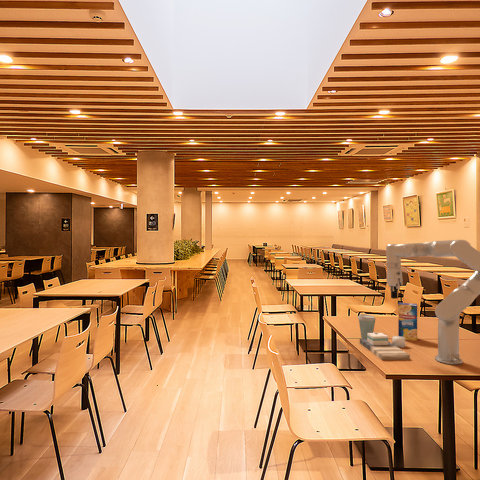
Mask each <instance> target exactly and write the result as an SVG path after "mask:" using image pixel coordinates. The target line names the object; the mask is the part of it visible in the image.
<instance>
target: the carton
mask: <svg viewBox="0 0 480 480" xmlns="http://www.w3.org/2000/svg"><path fill="white" fill-rule="evenodd" d="M388 341H389V335H387V334H385V333H384V332H377V331H376V332H375V331H373V333H367V342H369V343H370V344H372V345H388Z"/></svg>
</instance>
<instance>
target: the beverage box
mask: <svg viewBox="0 0 480 480" xmlns="http://www.w3.org/2000/svg"><path fill="white" fill-rule="evenodd" d="M397 310H398V312H397V313H398V315H397V316H398V320H397V323H398V324H397V325H398V329H397V330H398V333H397V334H398V335H397V336H402V337H405V341H416V342H417V341H418V304H417V303H412V302H411V303H410V302H409V303H408V302H398V303H397Z"/></svg>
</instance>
